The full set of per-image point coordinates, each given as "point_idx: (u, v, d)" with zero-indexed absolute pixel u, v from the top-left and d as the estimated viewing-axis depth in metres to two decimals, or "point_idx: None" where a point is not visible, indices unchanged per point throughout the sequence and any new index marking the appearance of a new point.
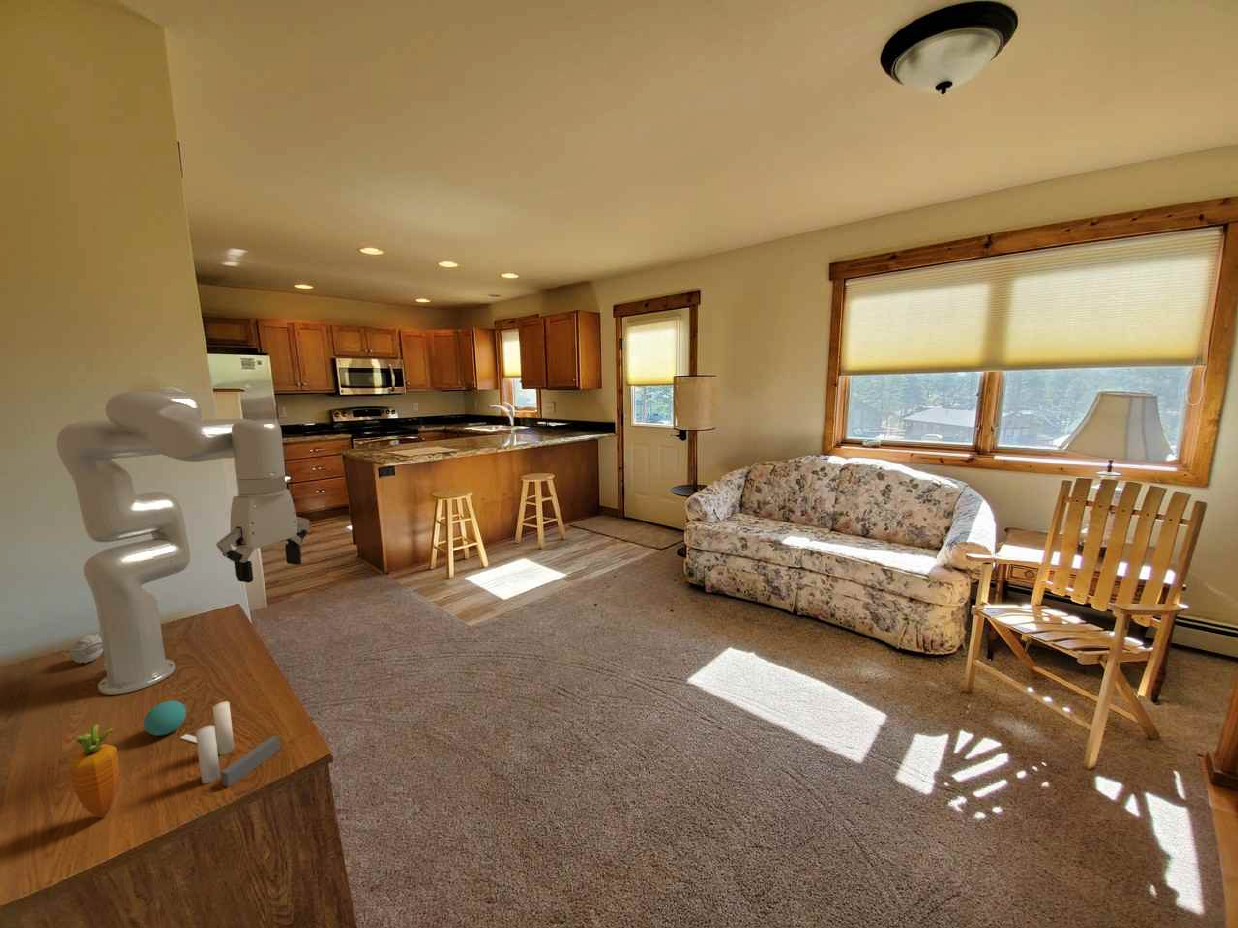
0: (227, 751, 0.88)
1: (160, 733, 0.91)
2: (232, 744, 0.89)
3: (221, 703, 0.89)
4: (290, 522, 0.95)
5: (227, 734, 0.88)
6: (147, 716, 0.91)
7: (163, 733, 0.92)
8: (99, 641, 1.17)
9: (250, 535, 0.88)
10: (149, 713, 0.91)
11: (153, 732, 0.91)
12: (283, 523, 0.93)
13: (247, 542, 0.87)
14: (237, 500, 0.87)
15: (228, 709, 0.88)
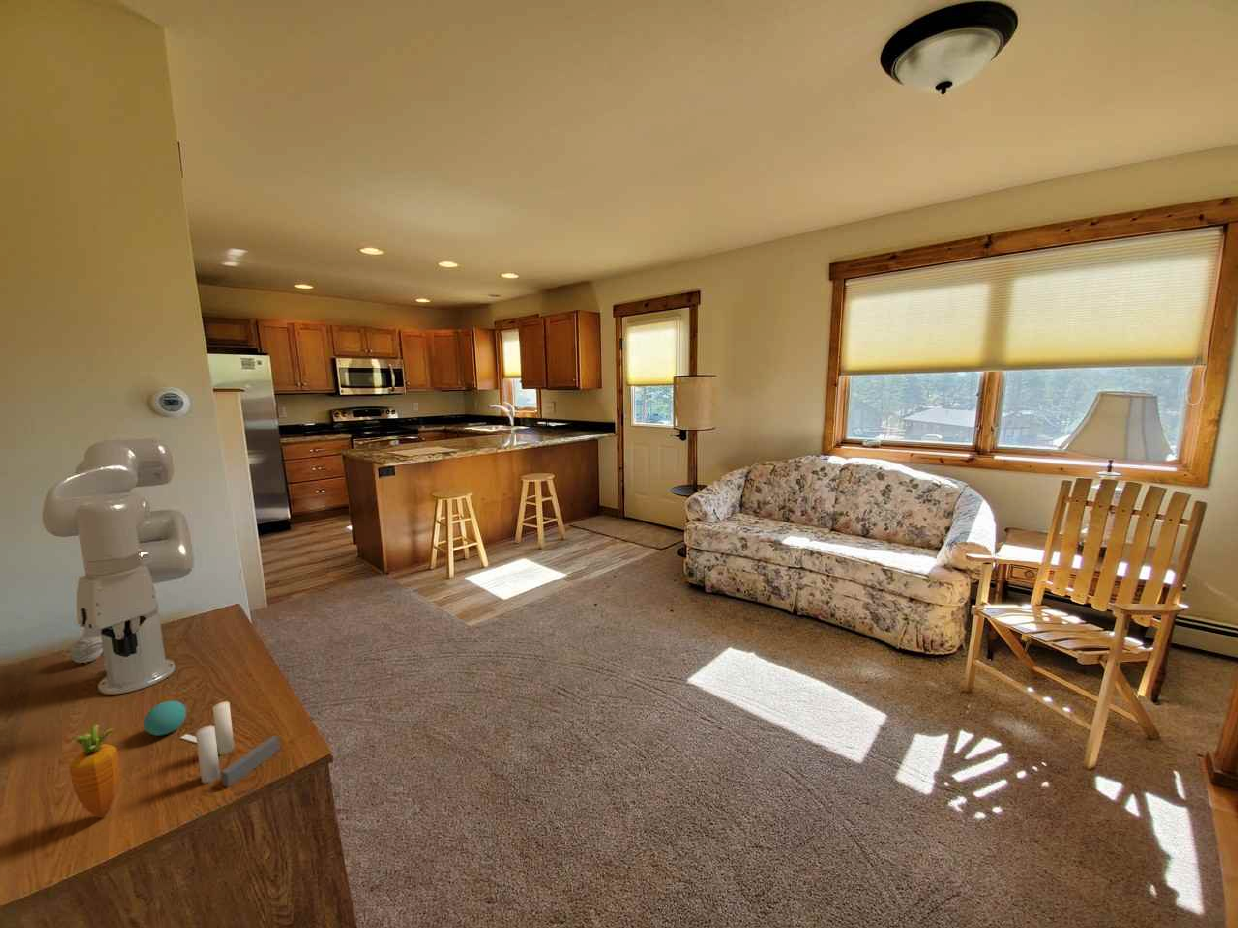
0: (227, 751, 0.88)
1: (160, 733, 0.91)
2: (232, 744, 0.89)
3: (221, 703, 0.89)
4: (146, 597, 0.95)
5: (227, 734, 0.88)
6: (147, 716, 0.91)
7: (163, 733, 0.92)
8: (99, 641, 1.17)
9: (95, 616, 0.88)
10: (149, 713, 0.91)
11: (153, 732, 0.91)
12: (137, 599, 0.93)
13: (92, 623, 0.88)
14: (81, 582, 0.88)
15: (228, 709, 0.88)
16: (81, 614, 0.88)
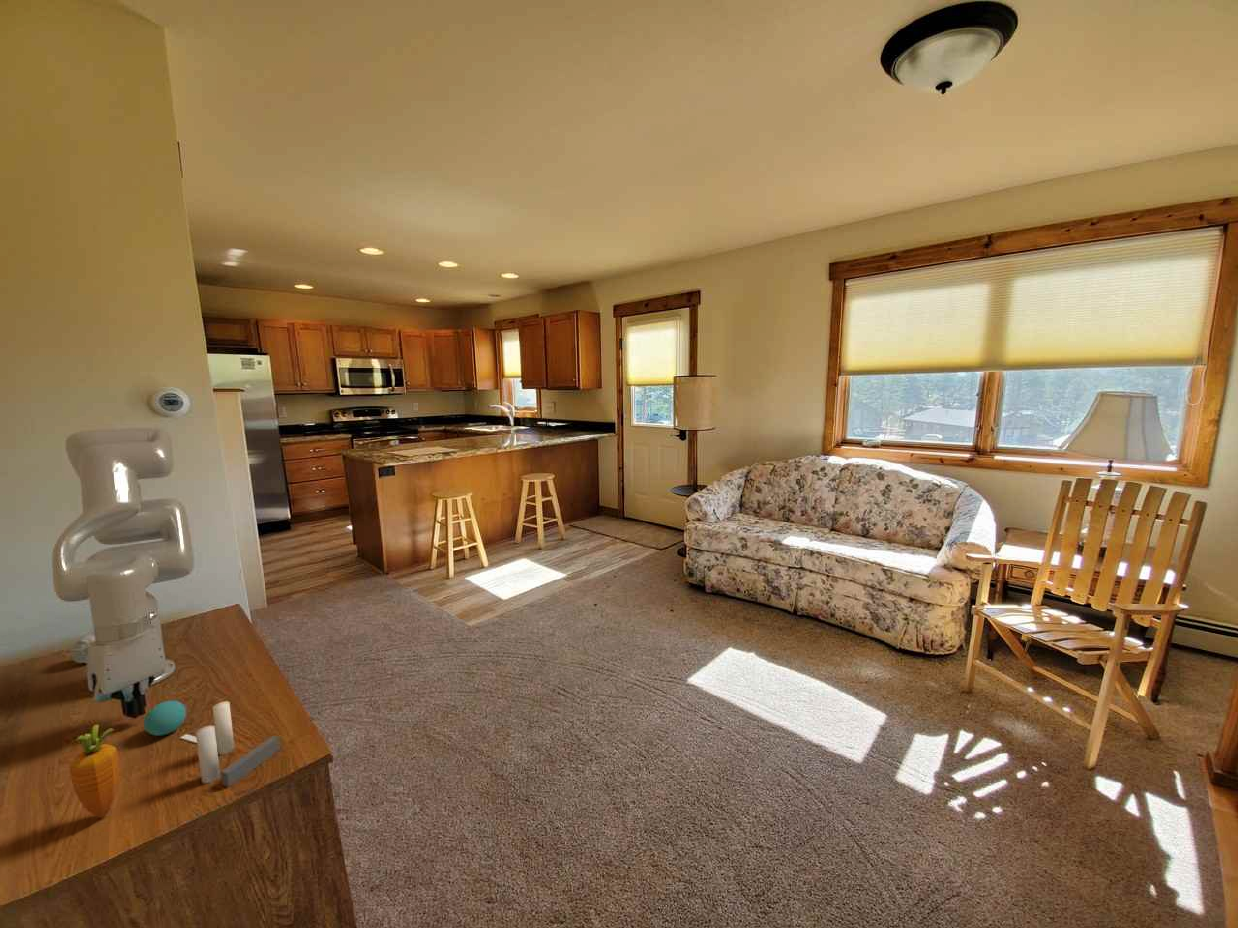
0: (227, 751, 0.88)
1: (160, 733, 0.91)
2: (232, 744, 0.89)
3: (221, 703, 0.89)
4: (155, 658, 0.97)
5: (227, 734, 0.88)
6: (147, 716, 0.91)
7: (163, 733, 0.92)
8: None
9: (105, 682, 0.90)
10: (149, 713, 0.91)
11: (153, 732, 0.91)
12: (145, 661, 0.95)
13: (102, 689, 0.90)
14: (92, 648, 0.89)
15: (228, 709, 0.88)
16: (91, 679, 0.90)
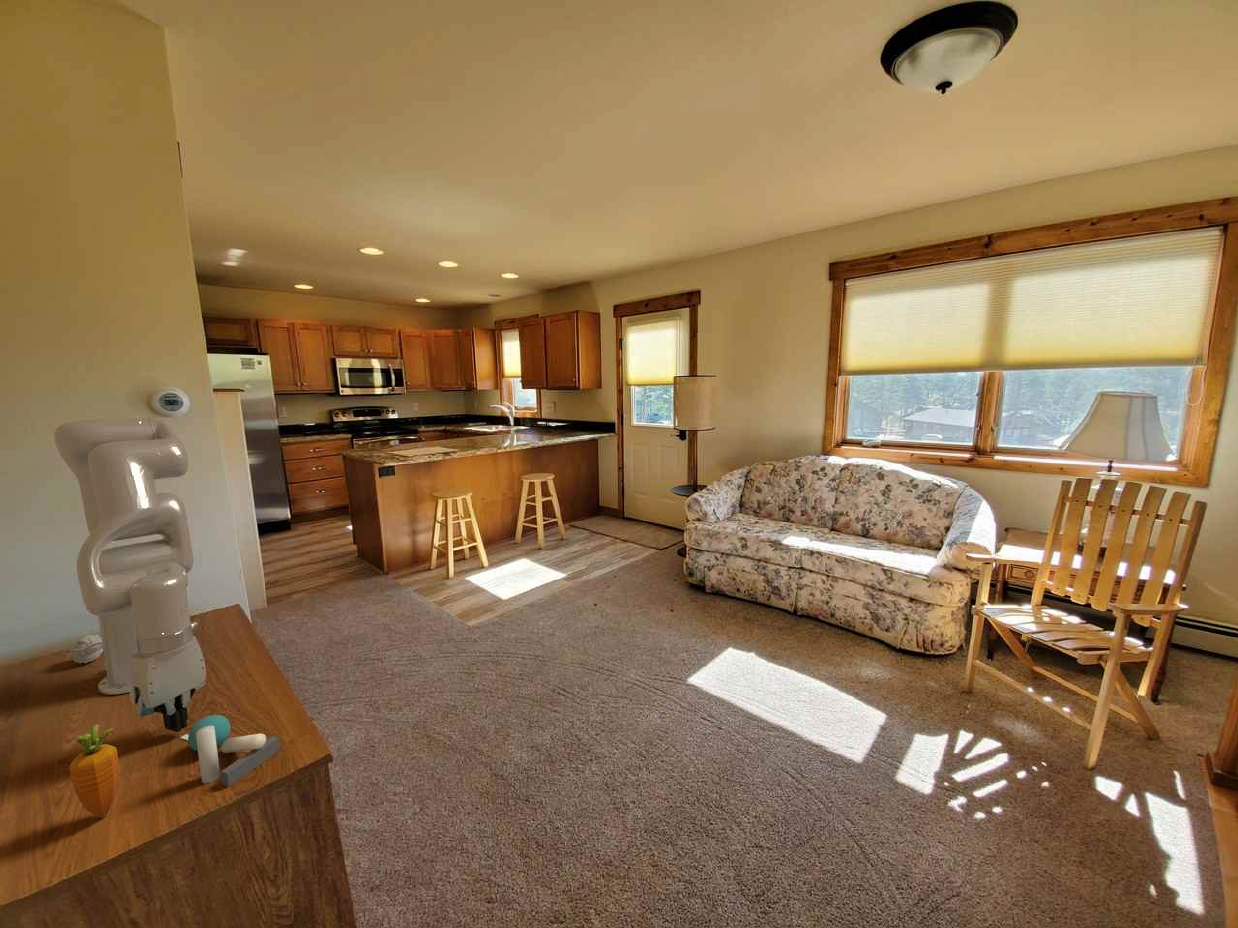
0: (228, 752, 0.88)
1: (195, 729, 0.87)
2: None
3: (260, 736, 0.86)
4: (197, 670, 0.94)
5: None
6: None
7: (198, 727, 0.87)
8: (99, 641, 1.17)
9: (148, 695, 0.86)
10: None
11: (192, 736, 0.87)
12: (188, 673, 0.92)
13: (145, 703, 0.86)
14: (135, 661, 0.86)
15: None
16: (134, 693, 0.87)
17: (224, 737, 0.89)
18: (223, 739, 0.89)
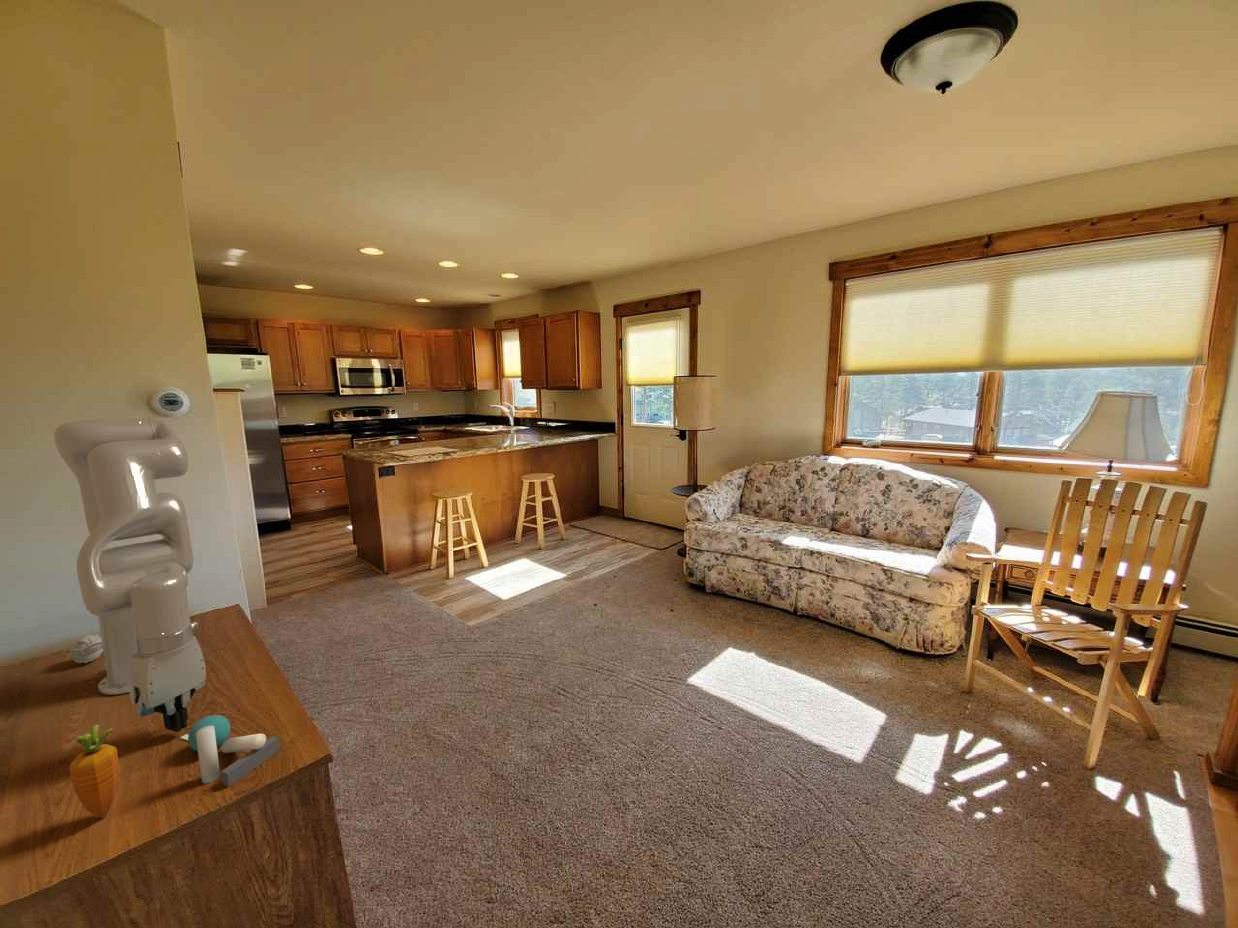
0: (228, 752, 0.88)
1: (195, 729, 0.87)
2: None
3: (260, 736, 0.86)
4: (197, 670, 0.94)
5: None
6: None
7: (198, 727, 0.87)
8: (99, 641, 1.17)
9: (148, 695, 0.86)
10: None
11: (192, 736, 0.87)
12: (188, 673, 0.92)
13: (145, 703, 0.86)
14: (135, 661, 0.86)
15: None
16: (134, 693, 0.87)
17: (224, 737, 0.89)
18: (223, 739, 0.89)
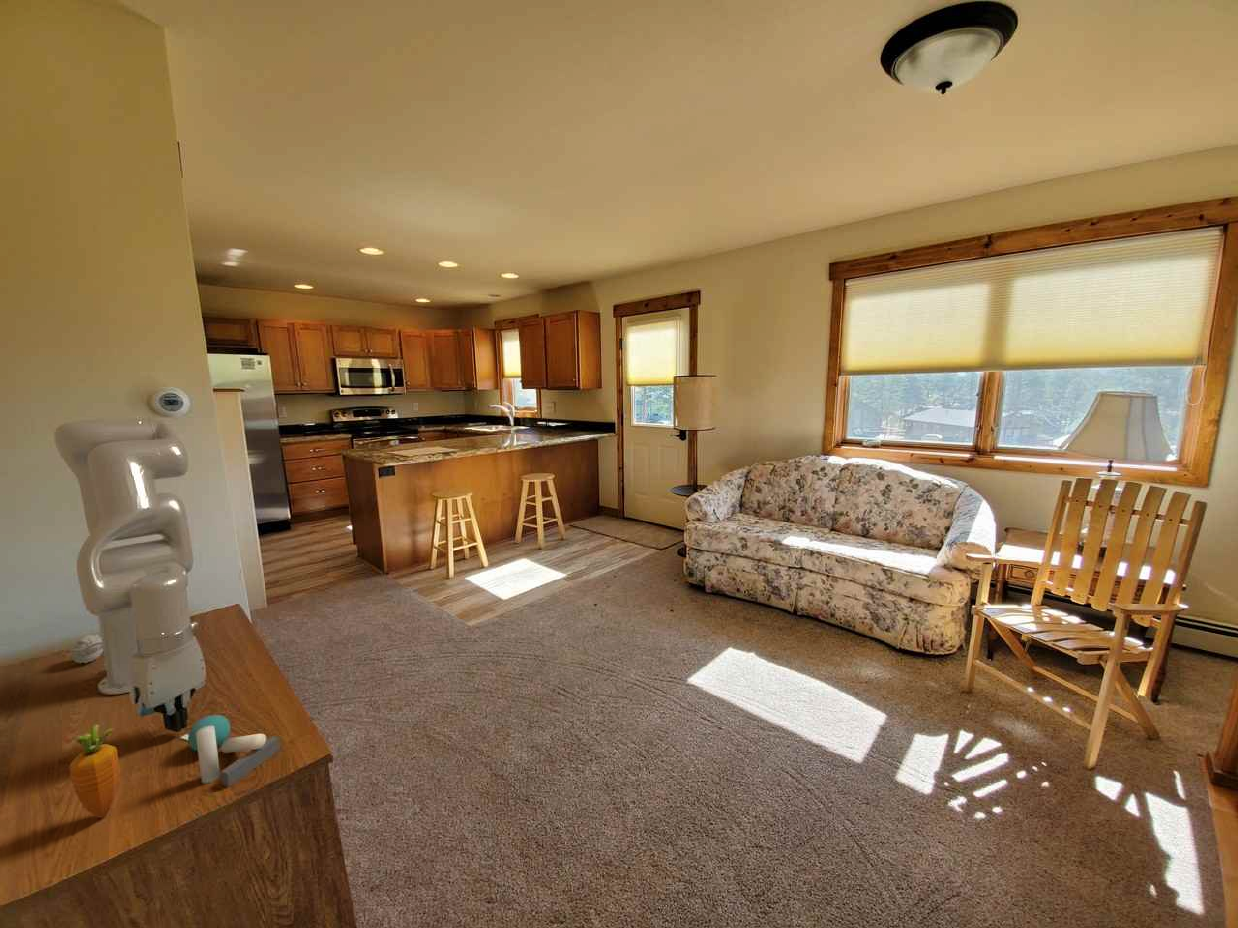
0: (228, 752, 0.88)
1: (195, 729, 0.87)
2: None
3: (260, 736, 0.86)
4: (197, 670, 0.94)
5: None
6: None
7: (198, 727, 0.87)
8: (99, 641, 1.17)
9: (148, 695, 0.86)
10: None
11: (192, 736, 0.87)
12: (188, 673, 0.92)
13: (145, 703, 0.86)
14: (135, 661, 0.86)
15: None
16: (134, 693, 0.87)
17: (224, 737, 0.89)
18: (223, 739, 0.89)
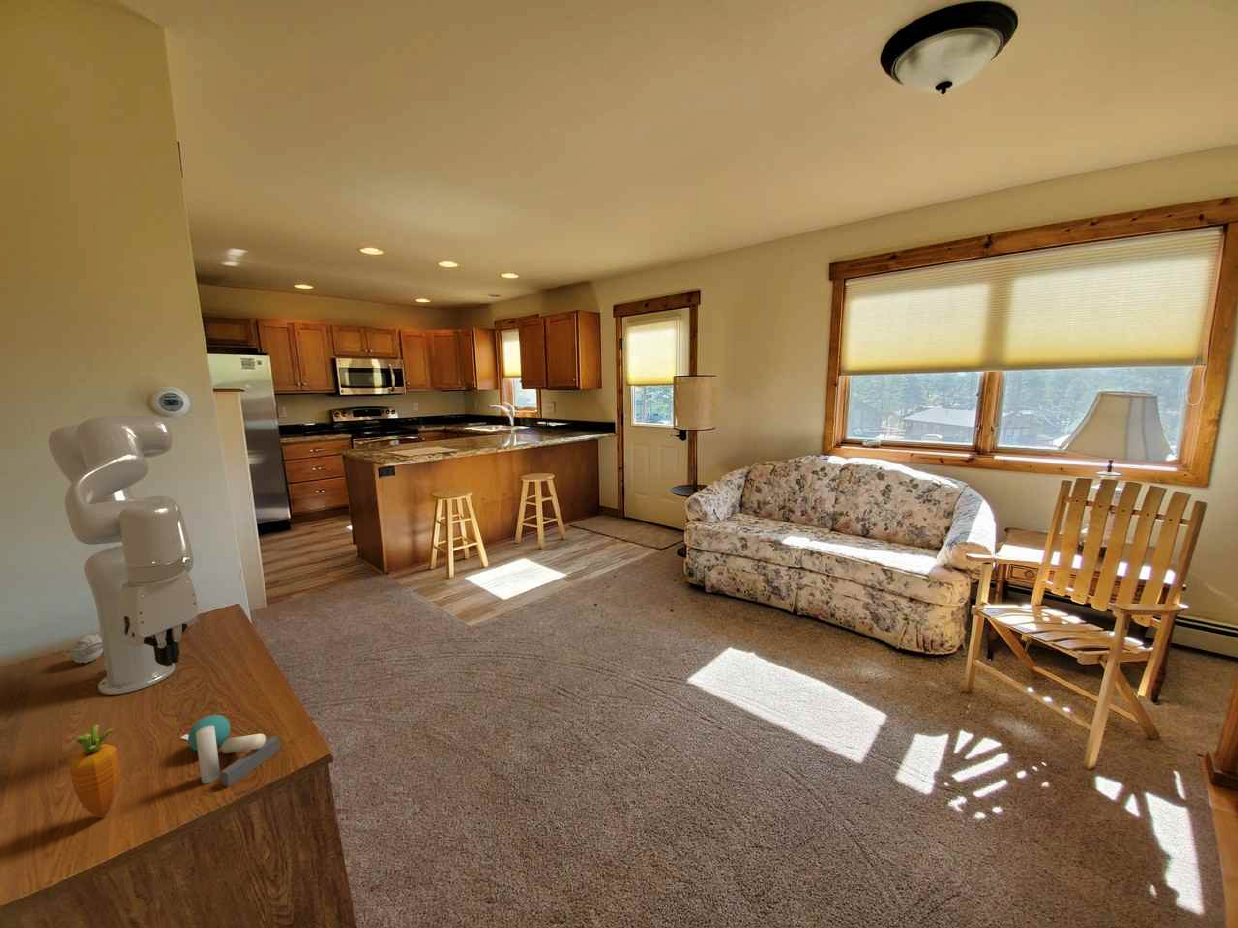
0: (228, 752, 0.88)
1: (195, 729, 0.87)
2: None
3: (259, 736, 0.86)
4: (188, 605, 0.92)
5: None
6: None
7: (198, 727, 0.87)
8: (99, 641, 1.17)
9: (138, 625, 0.85)
10: None
11: (192, 736, 0.87)
12: (179, 607, 0.90)
13: (135, 632, 0.84)
14: (125, 589, 0.84)
15: None
16: (124, 622, 0.85)
17: (224, 737, 0.89)
18: (223, 739, 0.89)
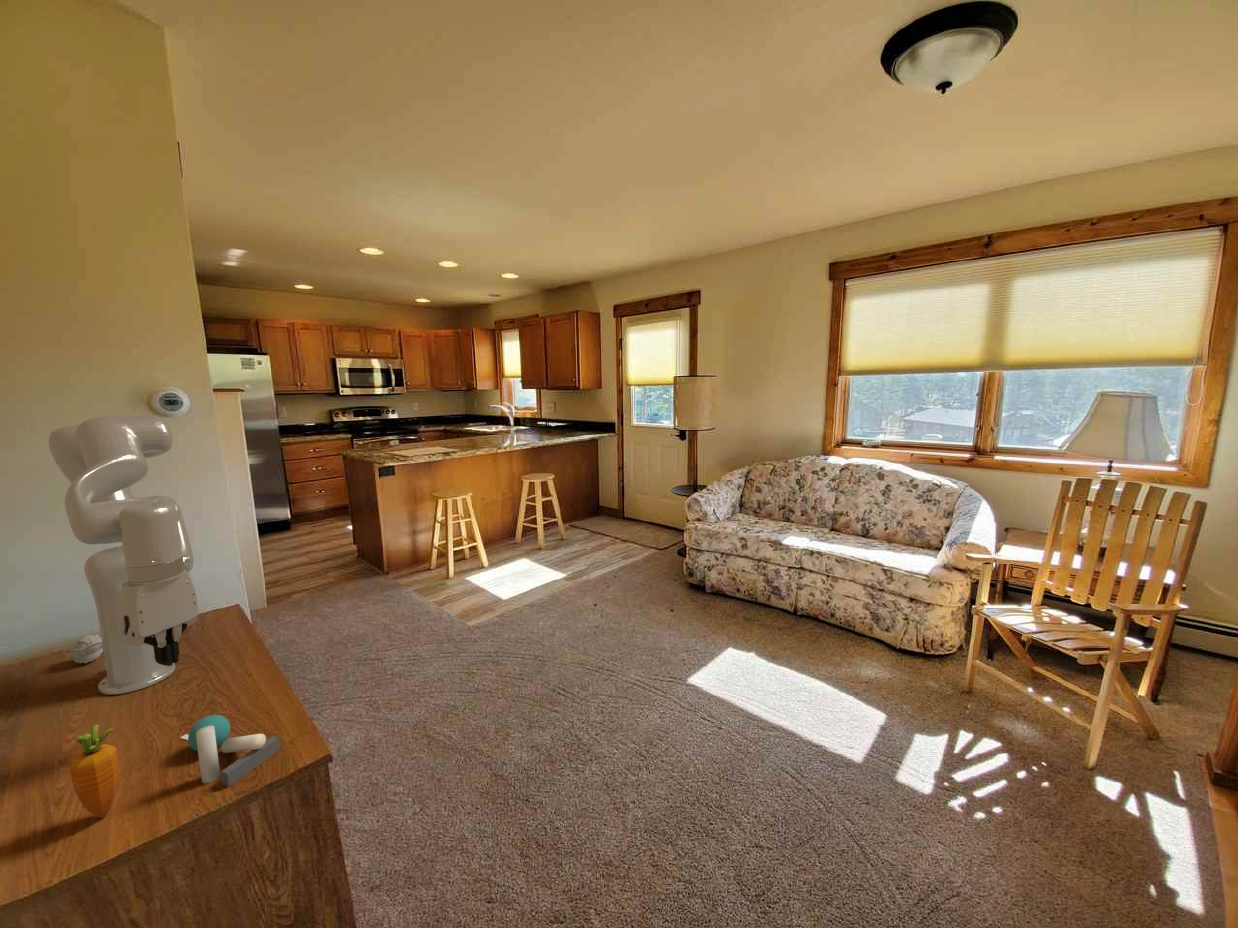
0: (228, 752, 0.88)
1: (195, 729, 0.87)
2: None
3: (259, 736, 0.86)
4: (188, 604, 0.92)
5: None
6: None
7: (198, 727, 0.87)
8: (99, 641, 1.17)
9: (138, 625, 0.84)
10: None
11: (192, 736, 0.87)
12: (179, 606, 0.90)
13: (135, 632, 0.84)
14: (124, 589, 0.84)
15: None
16: (124, 622, 0.85)
17: (224, 737, 0.89)
18: (223, 739, 0.89)
